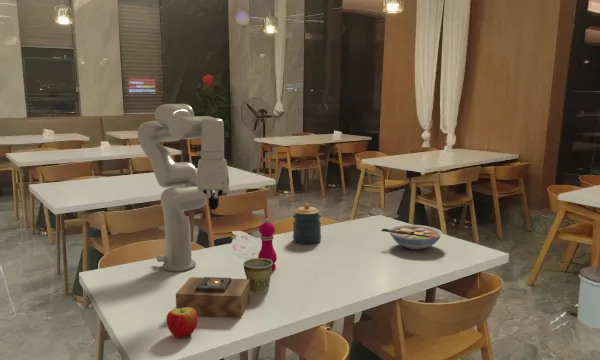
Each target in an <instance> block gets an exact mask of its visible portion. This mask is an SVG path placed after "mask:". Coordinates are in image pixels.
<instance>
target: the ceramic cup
mask: <svg viewBox="0 0 600 360" xmlns="http://www.w3.org/2000/svg"><path fill="white" fill-rule="evenodd" d="M242 264H243V269H244V274H245V276H246V278H245V279H250V294H253V295H264V294H266V293H268V292H269V289H270V288H269V287H270V282H271V277H272V272H273V271H272V265H273V262H272V260H271V259H264V258H258V257H257V258H250V259H246V260H245V261H243V263H242Z"/></svg>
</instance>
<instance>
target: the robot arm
mask: <svg viewBox="0 0 600 360" xmlns="http://www.w3.org/2000/svg"><path fill="white" fill-rule="evenodd" d="M154 119H155V120H149V121H145V122H142V123H141V124H139V127H138V129H137V139H138V143H139V145H140V148H141V149H142V151H143V153H144V154H145V156H146V157H147V159H148V160H149V163H150V166H151V168H152V171H153V174H154V176H155V179H156V181H157V184H158V185H159V187H161V188H163V189H164V188H166V189H164V190H163V191H162V192H161V195H160V205H161V207H162V212H163V219H164V232H165V233H164V234H165V235H164V236H165V251H166V253H165V255H156V261H157V262H158V263H160V262H161V263H163V264H162V269H163V270H164V271H166V272H175V273H176V272H185V271H189V270H192V269H193V268H195V267H196V264H197V263H196V260H194V259H193V258H192V243H191V242H192V241H191V236H192V234H191V222H190V220H189V218H188V216H186V214H185V212H187V211H191V210H197V209H201V208H203V207H205V205H206V204H207V202H208V207H209V209H210V211H212V210H214V211H215V210H216V209H218V207H219V206H220V205H219V197H220V196H221V195H222V194H226V193H230V187H229V186H230V185H229V184H230V177H229V167H228V162H227V158H225V129H224V127H225V126H224V123H225V122H224V121H223V119H221V118H218V117H213V116H209V115H207V116H205V115H204V116H202V115H201V116H199V115H197V116H196V115H195V112H194V110H193V108H192V107H191V106H190V105H189V104H186V103H165V104H160V105H159V106H158V107H157V108H156V109H155V111H154ZM191 139H193V140H194V139H200V149H201V150H199V151H197V152H196V156H200V159H198V163H197V168H196V166H195V165H194V164H193V163H192V162H189V161H180V162H176V161H174V160H173V156H172V155H171V153H170V151H169V150H168V149H167V148H166V147H165V146H164V145H162V144H160V143H162V142H164V143H165V142H175V141H181V140H191ZM213 191H214V193H213ZM207 198H208V201H207Z"/></svg>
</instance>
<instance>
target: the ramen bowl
mask: <svg viewBox="0 0 600 360" xmlns="http://www.w3.org/2000/svg"><path fill="white" fill-rule="evenodd" d="M380 232H384V233H385V232H386V233H389V234H390V236H391V237H392V239H393V241H394V242H396V244H397V245H400V246H402V247H404V248H406V249H408V250H412V251H416V250H417V251H419V250H422V249H426V248H429V247H432V246H433V245H435V244H436V243H437V242H438V241H439V240H440V239H441V237H442V235H443V231H441V230H440V229H438V228H436V227H432V226H427V225H421V224H401V225H395V226H392V227H390V228H389V229H388V228H382V229H381V230H380Z"/></svg>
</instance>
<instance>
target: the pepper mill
mask: <svg viewBox="0 0 600 360" xmlns="http://www.w3.org/2000/svg"><path fill="white" fill-rule="evenodd" d="M275 230H276V227H275V225H274V224H273V223H271V222H270V219H269V218H265V219H264V222H263V223H261V224H260V226H259V228H258V232H259V234H260V240H261V248H260V251H259V252H258V256H257V258H264V259H271V260H272V262H273V265H272V272H274V271H275V270H276V269H277V268H276V266H277V265H276V262H277V260H278V256H277V253H276V250H275V249H274V245H273V240H274V238H275V237H274V236H275V235H274V234H275V232H276V231H275Z"/></svg>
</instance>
